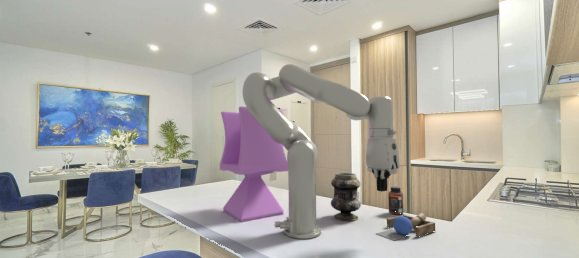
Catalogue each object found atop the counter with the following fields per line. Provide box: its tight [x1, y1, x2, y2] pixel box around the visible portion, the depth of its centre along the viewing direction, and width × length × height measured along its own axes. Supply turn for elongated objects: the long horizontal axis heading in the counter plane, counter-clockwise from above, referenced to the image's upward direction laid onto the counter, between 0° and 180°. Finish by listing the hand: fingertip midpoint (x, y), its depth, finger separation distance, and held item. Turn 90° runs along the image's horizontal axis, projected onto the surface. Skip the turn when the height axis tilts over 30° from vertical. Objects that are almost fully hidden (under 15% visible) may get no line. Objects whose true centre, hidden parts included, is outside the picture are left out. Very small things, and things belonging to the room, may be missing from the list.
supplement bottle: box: [387, 186, 404, 216], centre depth 112 cm, size 6×6×11 cm
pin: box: [410, 212, 427, 229], centre depth 90 cm, size 2×2×8 cm
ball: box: [392, 215, 414, 235], centre depth 86 cm, size 6×6×6 cm
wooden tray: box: [386, 214, 436, 238], centre depth 91 cm, size 10×12×3 cm
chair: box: [219, 106, 288, 223], centre depth 114 cm, size 22×22×45 cm
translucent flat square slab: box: [375, 228, 406, 241], centre depth 86 cm, size 8×7×1 cm
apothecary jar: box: [330, 172, 362, 222], centre depth 106 cm, size 12×12×18 cm
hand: (382, 190), depth 84 cm, fingers closed
